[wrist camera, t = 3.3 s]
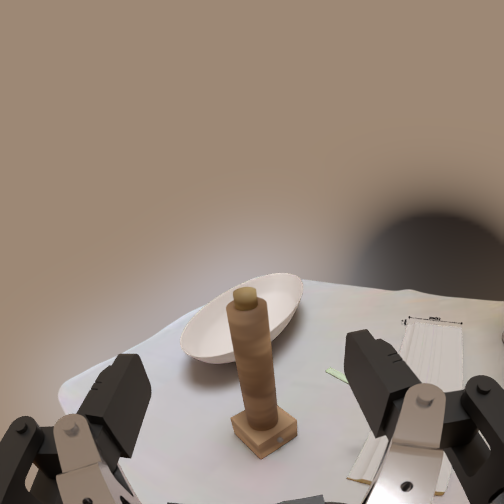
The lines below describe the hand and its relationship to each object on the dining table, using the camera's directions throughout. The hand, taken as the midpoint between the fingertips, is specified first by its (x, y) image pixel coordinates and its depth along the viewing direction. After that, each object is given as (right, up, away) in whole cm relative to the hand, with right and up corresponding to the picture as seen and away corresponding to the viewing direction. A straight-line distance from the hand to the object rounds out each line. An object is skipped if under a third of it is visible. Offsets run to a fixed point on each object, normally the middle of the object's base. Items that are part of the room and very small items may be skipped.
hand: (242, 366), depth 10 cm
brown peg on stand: (+2, -16, +16) cm, 23 cm away
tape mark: (+13, -13, +23) cm, 30 cm away
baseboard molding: (+22, -14, +18) cm, 32 cm away
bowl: (+1, -10, +38) cm, 39 cm away
